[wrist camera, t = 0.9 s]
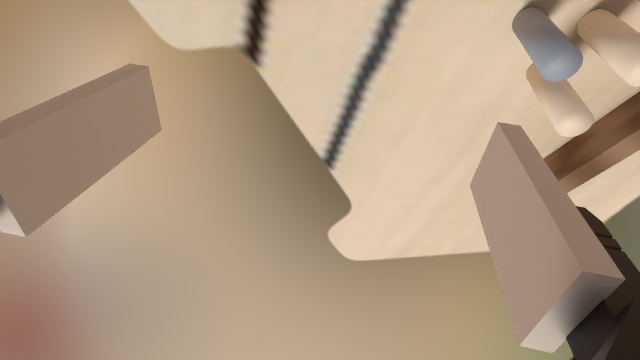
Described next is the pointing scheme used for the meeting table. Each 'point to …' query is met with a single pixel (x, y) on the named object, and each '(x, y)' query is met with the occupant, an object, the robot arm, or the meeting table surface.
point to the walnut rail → (598, 146)
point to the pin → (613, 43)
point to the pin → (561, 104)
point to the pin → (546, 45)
